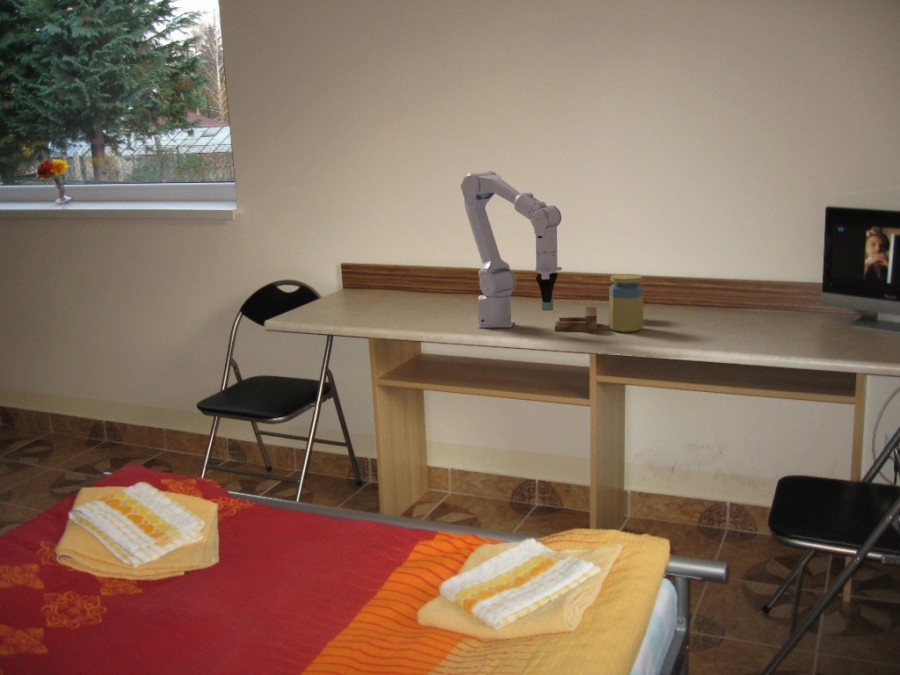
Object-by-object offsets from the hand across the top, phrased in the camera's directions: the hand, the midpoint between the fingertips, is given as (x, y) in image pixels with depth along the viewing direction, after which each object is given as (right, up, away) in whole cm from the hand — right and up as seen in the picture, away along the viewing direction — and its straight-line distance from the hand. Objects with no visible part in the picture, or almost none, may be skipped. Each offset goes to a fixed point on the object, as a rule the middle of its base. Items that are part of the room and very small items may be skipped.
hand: (547, 300), depth 255 cm
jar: (+22, -8, +3) cm, 24 cm away
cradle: (+9, -7, +7) cm, 14 cm away
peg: (0, -2, +1) cm, 2 cm away
